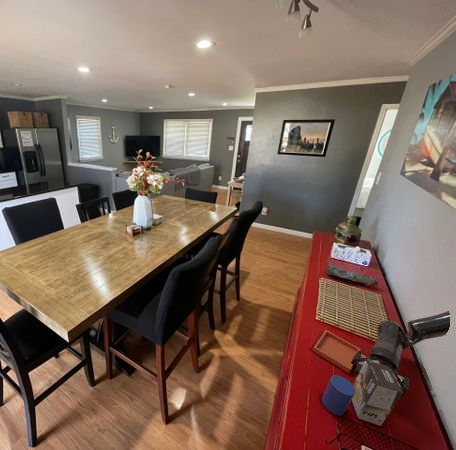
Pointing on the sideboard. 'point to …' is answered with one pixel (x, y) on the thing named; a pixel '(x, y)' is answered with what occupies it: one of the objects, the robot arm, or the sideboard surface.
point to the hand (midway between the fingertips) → (374, 384)
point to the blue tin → (338, 395)
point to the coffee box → (375, 392)
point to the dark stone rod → (351, 275)
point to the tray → (336, 350)
